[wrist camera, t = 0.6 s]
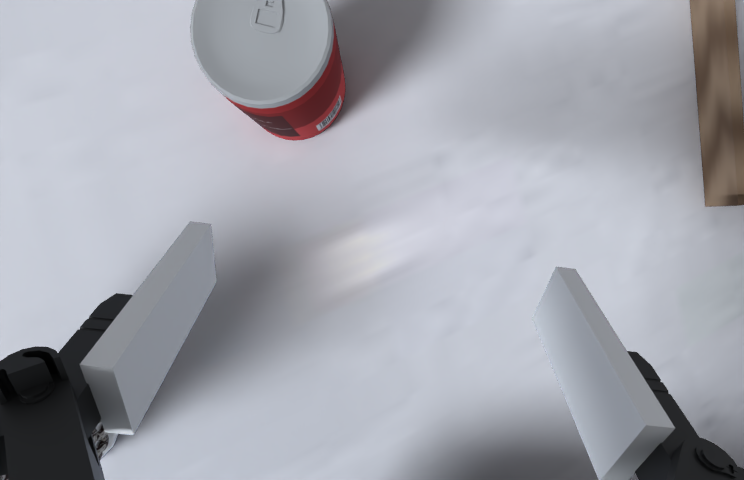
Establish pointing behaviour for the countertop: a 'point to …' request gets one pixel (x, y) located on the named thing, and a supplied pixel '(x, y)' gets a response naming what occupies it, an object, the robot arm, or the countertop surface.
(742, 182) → the frame
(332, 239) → the countertop surface
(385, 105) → the countertop surface
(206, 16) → the canned food
